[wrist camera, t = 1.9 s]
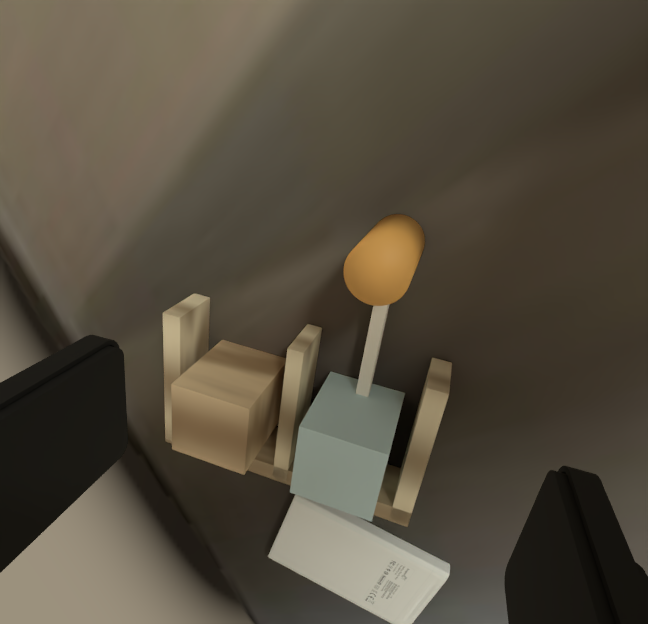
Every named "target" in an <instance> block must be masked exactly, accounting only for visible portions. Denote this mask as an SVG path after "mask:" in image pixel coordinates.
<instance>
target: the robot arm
mask: <svg viewBox="0 0 648 624" xmlns="http://www.w3.org/2000/svg"><path fill="white" fill-rule="evenodd" d="M127 444H128V434H127V413H126V392H125V371H124V354H123V351H122V350H121V349H119V345H118V344H117V342H115V341H114V340H110V339H106V338H103V337H99V336H96V335H89V336H86V337H84V338H82V339H80V340H78V341H77V342H75V343H73V344H71V345H69V346H67V347H66V348H64V349H62V350H60V351H58V352H57V353H55V354H53V355H51V356H49V357H47V358H46V359H43V360H42V361H40V362H38V363H36V364H34V365H32V366H31V367H29V368H27V369H25V370H23V371H21V372H19V373H18V374H16V375H14V376H12V377H10V378H9V379H7V380H5V381H3V382H1V383H0V572H2V571H3V569H5V568H6V567H7V566H8V565H9V564H10V563H11V562H12V561H13V560H14V559H15V558H16V557H17V556H18V555H19V554H20V553H21V552H22V551H23V550H24V549H26V548H27V546H29V545H30V544H31V543H32V542H33V541H34V540H35V539H36V538H37V537H38V536H39V535H40V534H41V533H42V532H43V531H44V530H45V529H46V528H47V527H48V526H50V525H51V523H53V522H54V521H55V520H56V519H57V518H58V517H59V516H60V515H61V514H62V513H63V512H64V511H65V510H66V509H67V508H68V507H69V506H70V505H71V504H72V503H74V502H75V501H76V500H77V499H78V498H79V497H80V496H81V495H82V494H83V493H84V492H85V491H86V490H87V489H88V488H89V487H90V486H91V485H92V484H93V483H94V482H95V481H96V480H98V478H100V476H102V474H104V473H105V472H106V471H107V470H108V469H109V468H110V467H111V466H112V465H113V464H114V463H115V462H116V461H117V460H118V459H119V458H120V457H121V456H122V455H123V454H124V452H125V450H126V448H127ZM505 593H506V603H507V612H508V621H509V624H648V576H647V575H646V573H645V571H644V570H643V568H642V567H641V566H640V565H638V564H637V563H635V561H634V559H633V556H632V554H631V551H630V549H629V547H628V544H627V542H626V539H625V537H624V535H623V532H622V530H621V528H620V525H619V523H618V520H617V518H616V516H615V513H614V511H613V508H612V506H611V504H610V501H609V499H608V497H607V494H606V492H605V489H604V487H603V485H602V482H601V480H600V478H599V477H598V476H597V475H596V474H593V473H589V472H586V471H582V470H578V469H575V468H571V467H568V466H562V467H561V468H560V469H559V471H558V472H557V471H553V470H550V471H549V472H548V474H547V475H546V478H545V480H544V482H543V484H542V487H541V489H540V491H539V494H538V496H537V498H536V500H535V503H534V505H533V507H532V509H531V512H530V514H529V516H528V519H527V521H526V523H525V525H524V528H523V530H522V532H521V535H520V537H519V539H518V541H517V544H516V546H515V548H514V551H513V553H512V555H511V557H510V560H509V562H508V564H507V567H506V572H505Z"/></svg>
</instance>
